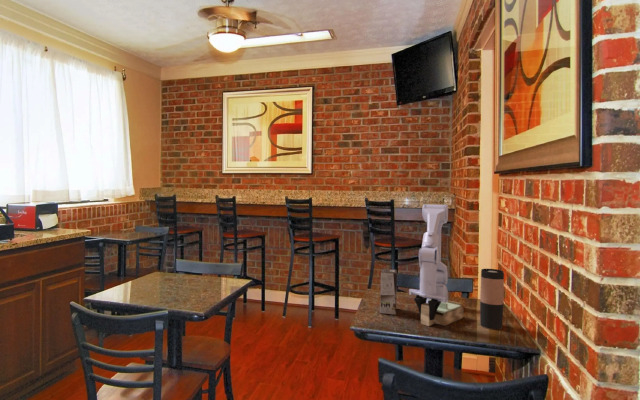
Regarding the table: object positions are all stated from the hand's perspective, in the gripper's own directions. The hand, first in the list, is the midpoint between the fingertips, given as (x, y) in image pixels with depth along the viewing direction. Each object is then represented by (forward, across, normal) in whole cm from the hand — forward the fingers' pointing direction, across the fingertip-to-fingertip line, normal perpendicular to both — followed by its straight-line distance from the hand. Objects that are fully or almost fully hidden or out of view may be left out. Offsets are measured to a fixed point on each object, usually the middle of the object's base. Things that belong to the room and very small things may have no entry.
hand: (427, 318), depth 135 cm
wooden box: (+2, 0, +10) cm, 11 cm away
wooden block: (+2, 0, 0) cm, 2 cm away
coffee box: (+2, -19, +2) cm, 19 cm away
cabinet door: (-2, 0, +10) cm, 10 cm away
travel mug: (+2, +16, +16) cm, 23 cm away
